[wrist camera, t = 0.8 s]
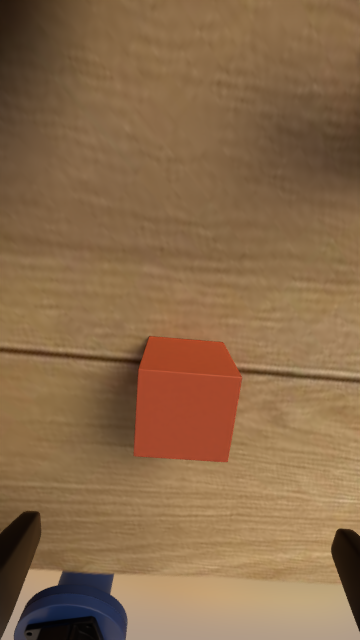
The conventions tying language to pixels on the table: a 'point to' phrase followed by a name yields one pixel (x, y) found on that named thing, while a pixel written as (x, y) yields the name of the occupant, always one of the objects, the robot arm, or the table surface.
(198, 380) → the block
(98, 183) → the table surface
